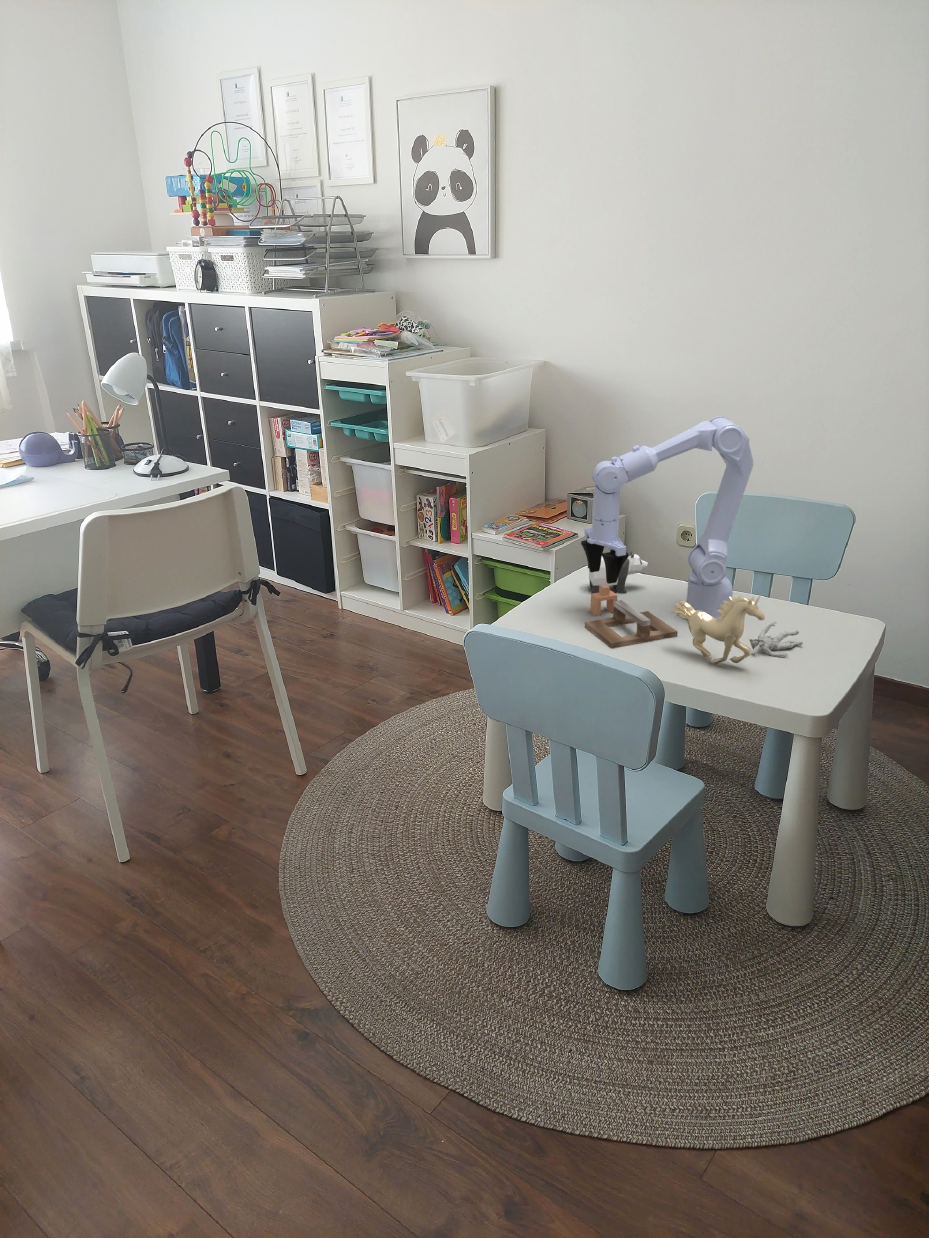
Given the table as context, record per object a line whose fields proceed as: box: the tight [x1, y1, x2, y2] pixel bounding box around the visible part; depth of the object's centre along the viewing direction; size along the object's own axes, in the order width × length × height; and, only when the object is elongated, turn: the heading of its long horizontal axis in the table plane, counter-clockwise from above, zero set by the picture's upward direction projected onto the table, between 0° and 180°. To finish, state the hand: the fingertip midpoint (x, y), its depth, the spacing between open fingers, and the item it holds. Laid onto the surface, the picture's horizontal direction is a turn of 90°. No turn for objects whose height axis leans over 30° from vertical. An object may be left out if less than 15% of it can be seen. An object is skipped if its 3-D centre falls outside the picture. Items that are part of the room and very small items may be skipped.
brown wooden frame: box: [584, 599, 679, 649], centre depth 193 cm, size 16×12×5 cm
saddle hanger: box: [589, 584, 619, 617], centre depth 203 cm, size 5×3×6 cm, turn 111°
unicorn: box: [670, 593, 766, 665], centre depth 177 cm, size 20×4×17 cm, turn 47°
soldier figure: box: [749, 621, 804, 658], centre depth 184 cm, size 8×5×12 cm
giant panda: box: [587, 551, 649, 594], centre depth 215 cm, size 15×6×10 cm, turn 94°
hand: (602, 577), depth 197 cm, fingers open, 7 cm apart
